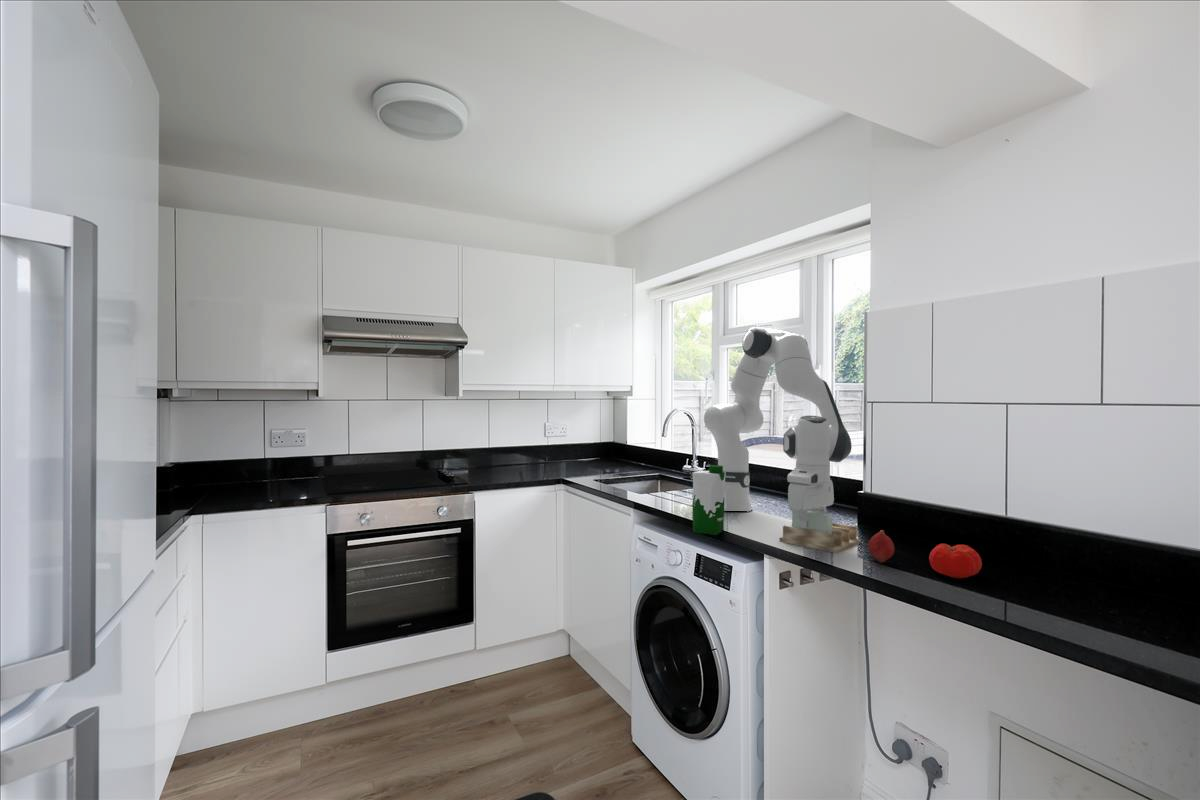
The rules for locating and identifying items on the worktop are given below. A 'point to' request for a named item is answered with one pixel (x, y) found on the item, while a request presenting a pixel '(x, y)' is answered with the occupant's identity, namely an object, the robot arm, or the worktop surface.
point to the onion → (881, 547)
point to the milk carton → (708, 500)
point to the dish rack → (822, 537)
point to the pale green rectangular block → (815, 521)
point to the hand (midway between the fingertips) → (811, 524)
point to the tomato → (955, 560)
